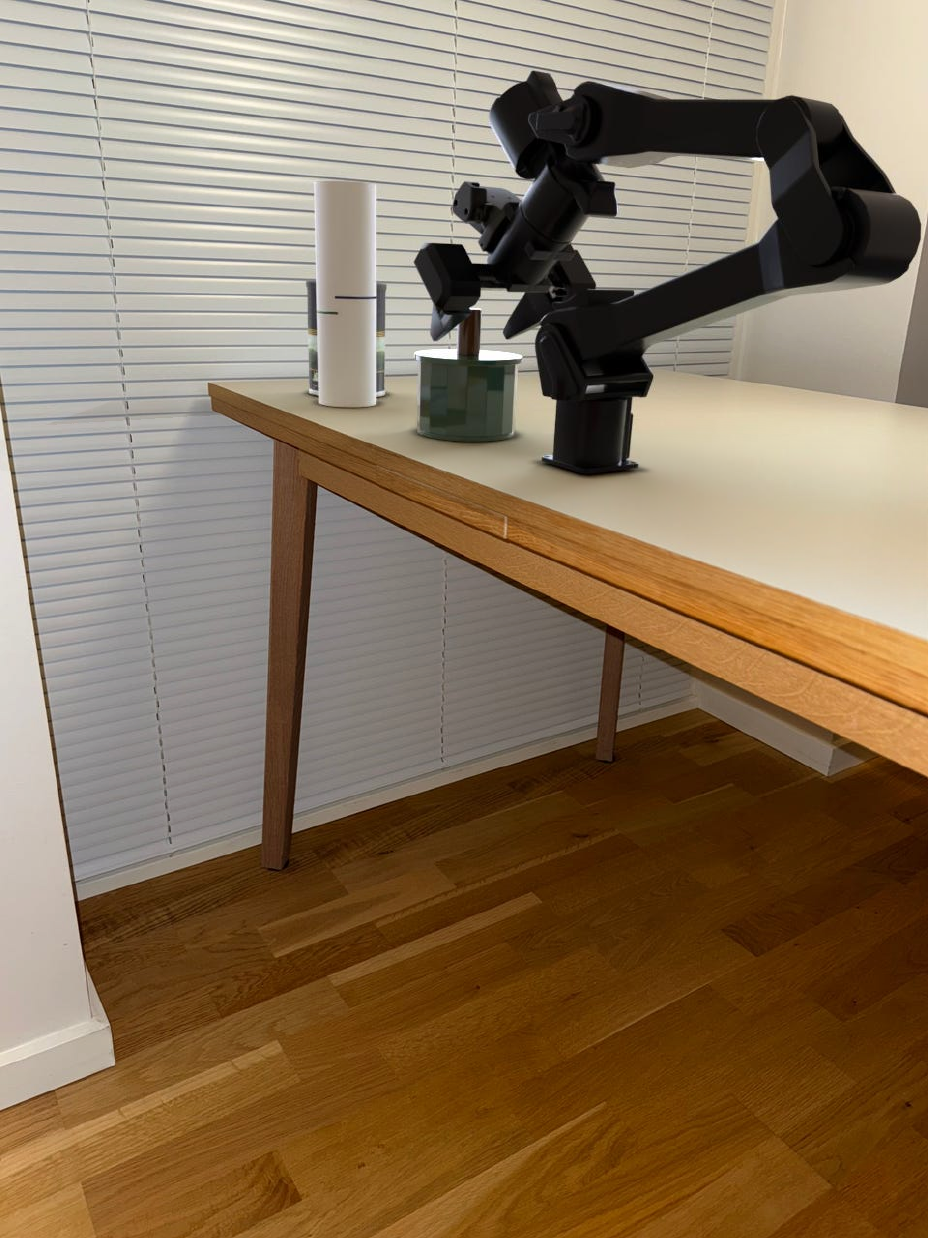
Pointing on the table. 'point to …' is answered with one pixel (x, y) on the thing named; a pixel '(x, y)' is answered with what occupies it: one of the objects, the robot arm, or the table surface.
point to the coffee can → (314, 343)
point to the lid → (469, 348)
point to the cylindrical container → (346, 292)
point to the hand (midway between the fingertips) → (470, 336)
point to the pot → (466, 402)
